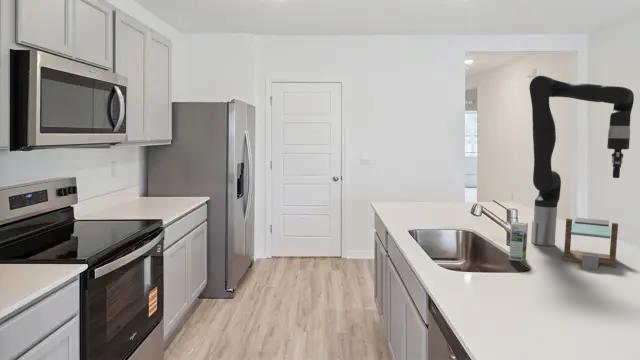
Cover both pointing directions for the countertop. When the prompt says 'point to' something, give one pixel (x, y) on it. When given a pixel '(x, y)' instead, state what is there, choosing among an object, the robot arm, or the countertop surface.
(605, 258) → the frame
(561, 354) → the countertop surface
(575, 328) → the countertop surface
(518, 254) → the syrup box
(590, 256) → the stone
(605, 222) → the trapdoor
